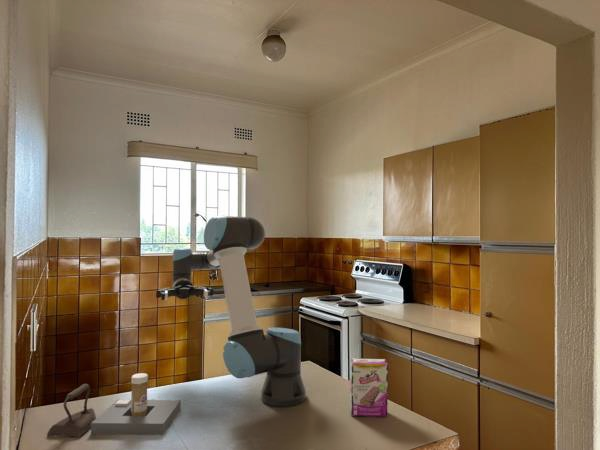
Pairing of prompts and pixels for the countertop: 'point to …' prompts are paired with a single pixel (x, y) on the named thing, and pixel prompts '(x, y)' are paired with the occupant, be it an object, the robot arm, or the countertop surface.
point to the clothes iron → (74, 418)
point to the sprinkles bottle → (139, 394)
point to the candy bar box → (369, 387)
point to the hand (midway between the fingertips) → (186, 296)
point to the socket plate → (136, 418)
